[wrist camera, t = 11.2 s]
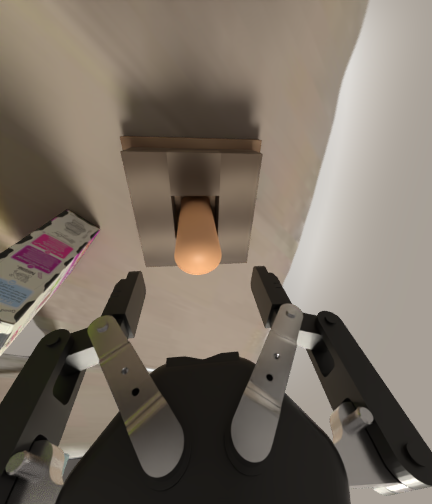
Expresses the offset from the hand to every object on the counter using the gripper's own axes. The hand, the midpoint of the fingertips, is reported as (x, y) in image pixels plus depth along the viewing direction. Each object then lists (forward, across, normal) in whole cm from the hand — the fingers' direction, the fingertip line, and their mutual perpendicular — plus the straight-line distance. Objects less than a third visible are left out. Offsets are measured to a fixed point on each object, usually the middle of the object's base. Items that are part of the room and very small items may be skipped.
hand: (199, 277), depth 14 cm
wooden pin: (+15, 0, 0) cm, 15 cm away
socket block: (+16, 0, 0) cm, 16 cm away
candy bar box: (+16, +19, +6) cm, 26 cm away
